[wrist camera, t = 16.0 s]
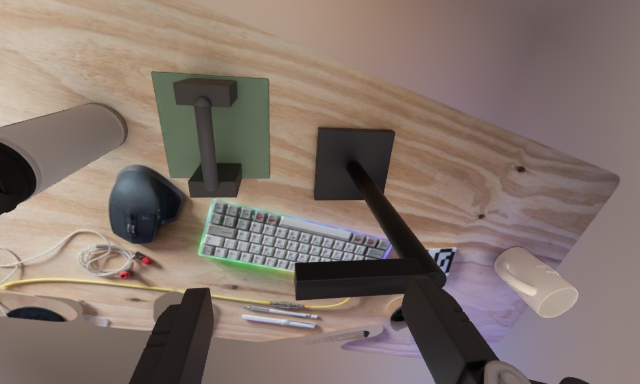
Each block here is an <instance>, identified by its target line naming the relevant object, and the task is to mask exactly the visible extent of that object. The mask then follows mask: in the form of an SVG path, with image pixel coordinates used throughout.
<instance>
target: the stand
mask: <svg viewBox="0 0 640 384" xmlns="http://www.w3.org/2000/svg"><path fill="white" fill-rule="evenodd" d="M394 136H395V132H394V131H392V130H375V129H348V128H320V127H319V128H318V141H317V156H316V171H315V186H314V199H315V200H365V202H366V203H367V205H368V206H369V208H370V210H371V211H372V213H373V215H374V216H375V218H376V220H377V221H378V223H379V225H380V226H381V228H382V229H383V231H384V233H385V234H386V236H387V238H388V239H389V241H390V243H391V244H392V246H393V248H394V249H395V251H396V252H397V254H398V256H399V257H400V259H378V260H354V261H330V262H306V263H295V277H294V284H295V296H296V300H313V299H328V298H344V297H360V296H376V295H391V294H405V291H406V287H407V284H408V280H409V279H410V278H411V277H430V278H431V279H432V280H433V282H434V283H435V285H436V286H437V288H438V289H441V288H442V287H443V286H444V285H445V283H446V275H445V274H444V272H443V271H442V270H441V269H440V267H439V266H438V265H437V263H436V262H435V261H434V259H433V258H432V257H431V256H430V254H429V253H428V252H427V250H426V249H425V248H424V246H423V245H422V244H421V243H420V241H419V240H418V239H417V237H416V236H415V235H414V233H413V232H412V231H411V230H410V228H409V227H408V226H407V224H406V223H405V222H404V220H403V219H402V218H401V216H400V215H399V214H398V213H397V211H396V210H395V209H394V207H393V206H392V205H391V203H390V202H389V201H388V200H387V198H386V197H385V196H384V189H385V183H386V178H387V173H388V168H389V162H390V157H391V152H392V147H393V141H394Z"/></svg>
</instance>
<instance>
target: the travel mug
mask: <svg viewBox="0 0 640 384" xmlns="http://www.w3.org/2000/svg"><path fill="white" fill-rule="evenodd" d="M126 137H127V127H126V124H125V122H124V120H123V119H122V117H121V116H120V115H119V114H118V113H117V112H116V111H115V110H113V109H112V108H110V107H108V106H106V105H103V104H98V103H90V104H85V105H81V106H78V107H74V108H70V109H66V110H63V111H59V112H55V113H51V114H48V115H44V116H40V117H36V118H33V119H29V120H25V121H21V122H18V123H14V124H10V125H6V126H3V127H0V215H1V214H3V213H4V212H5V213H8V212H10V211H12V210H14V209H15V208H16V207H17V205H18V204H19V203H21V202H24V201H26V200H28V199H30V198H31V197H33V196H35V195H37V194H38V193H40V192H42V191H43V190H45V189H47V188H49V187H50V186H52V185H54V184H55V183H57V182H59V181H60V180H62V179H64V178H66V177H67V176H69V175H71V174H72V173H74V172H76V171H78V170H79V169H81V168H83V167H84V166H86V165H88V164H89V163H91V162H93V161H95V160H96V159H98V158H100V157H101V156H103V155H105V154H106V153H108V152H110V151H112V150H113V149H115V148H117V147H118V146H120V145H121V144H122V143H123V142H124V141H125V139H126Z"/></svg>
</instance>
